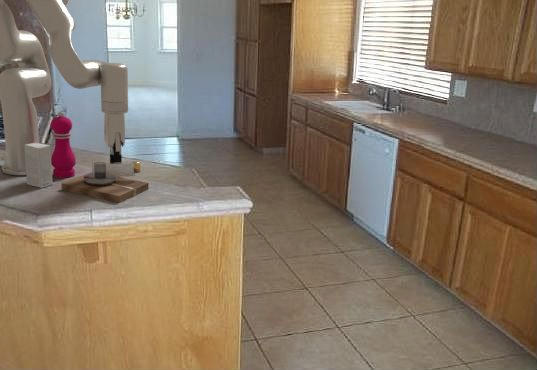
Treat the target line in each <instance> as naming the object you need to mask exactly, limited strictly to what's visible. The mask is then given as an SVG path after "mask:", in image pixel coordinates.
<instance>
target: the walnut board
mask: <svg viewBox="0 0 537 370" xmlns="http://www.w3.org/2000/svg"><path fill="white" fill-rule="evenodd" d="M89 173H92V171H91V172H88V173H85V174H82V175H80V176H77V177H75V178H71V179H69V180H66V181H63V182H61V190H63V191H66V192H71V193H74V194H80V195H84V196H88V197H93V198H96V199H101V200H105V201H110V202H114V203H118V204H120V203H123V202H124V201H126V199H127V200H128V199H130V198H133V197H135V196H138V195H139V194H141V193H144V192H145V191H148V190H149V186H150V185H149V182H145V181H140V180H137V179H132V178H128V177H116V182H115V183H114V184H111V185H107V186H91V185H87V184H85V183H84V176H85V175H86V174H89ZM143 191H144V192H143Z"/></svg>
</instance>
